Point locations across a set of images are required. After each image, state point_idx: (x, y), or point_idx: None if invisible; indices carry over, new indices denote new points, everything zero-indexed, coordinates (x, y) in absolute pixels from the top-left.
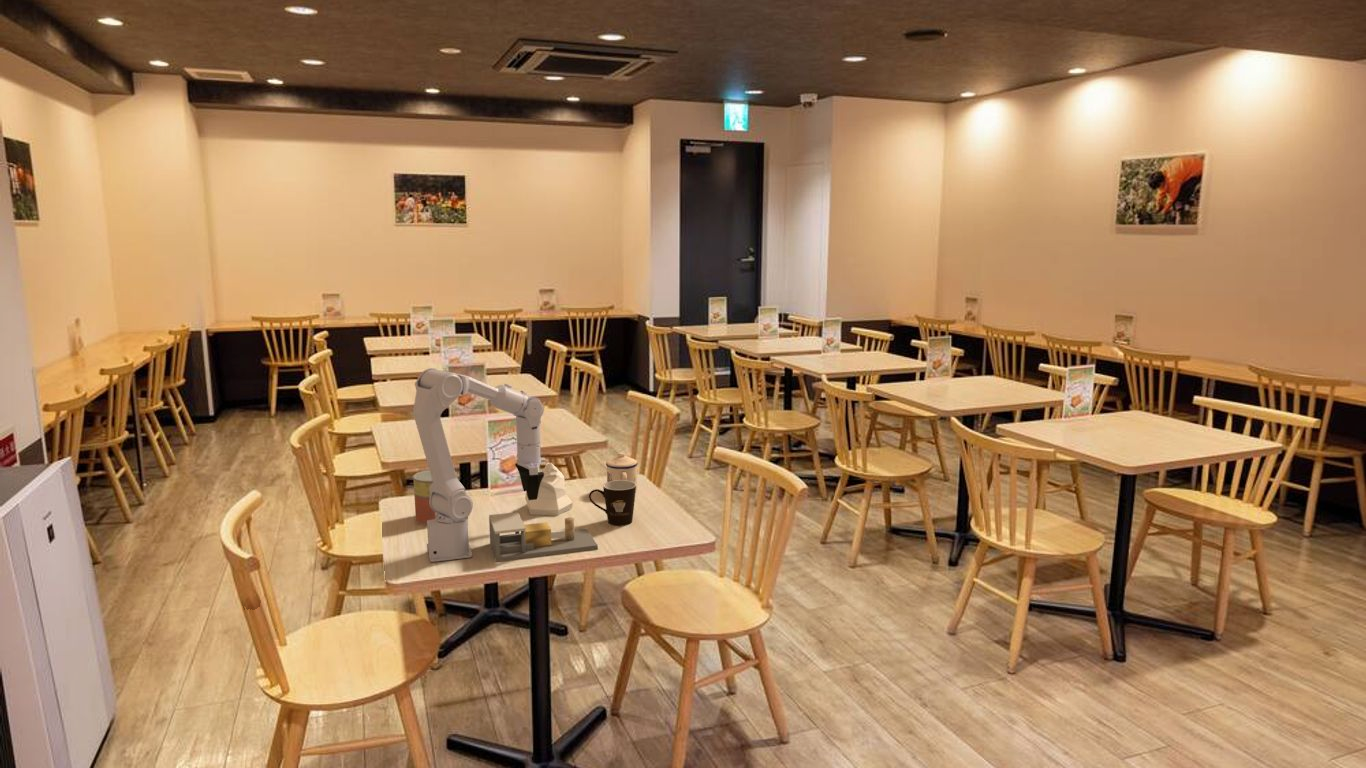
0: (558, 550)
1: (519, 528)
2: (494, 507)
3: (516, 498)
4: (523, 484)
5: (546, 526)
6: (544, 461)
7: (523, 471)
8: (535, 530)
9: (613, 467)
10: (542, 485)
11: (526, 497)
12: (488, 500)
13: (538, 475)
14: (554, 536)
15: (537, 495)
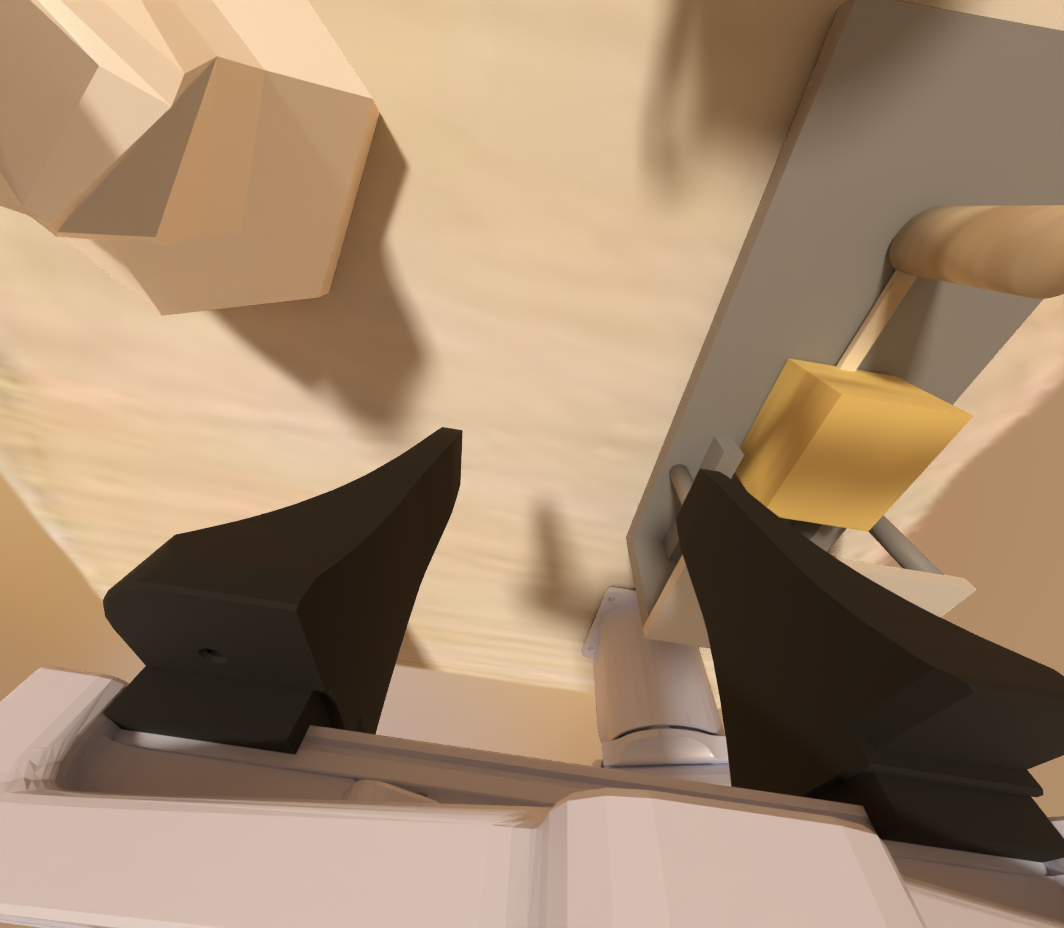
0: (983, 364)
1: (945, 608)
2: (204, 417)
3: (36, 276)
4: (441, 523)
5: (904, 422)
6: (886, 864)
7: (391, 634)
8: (898, 490)
9: None
10: (127, 194)
11: (201, 308)
12: (101, 412)
13: (1026, 752)
14: (795, 314)
15: (742, 490)
